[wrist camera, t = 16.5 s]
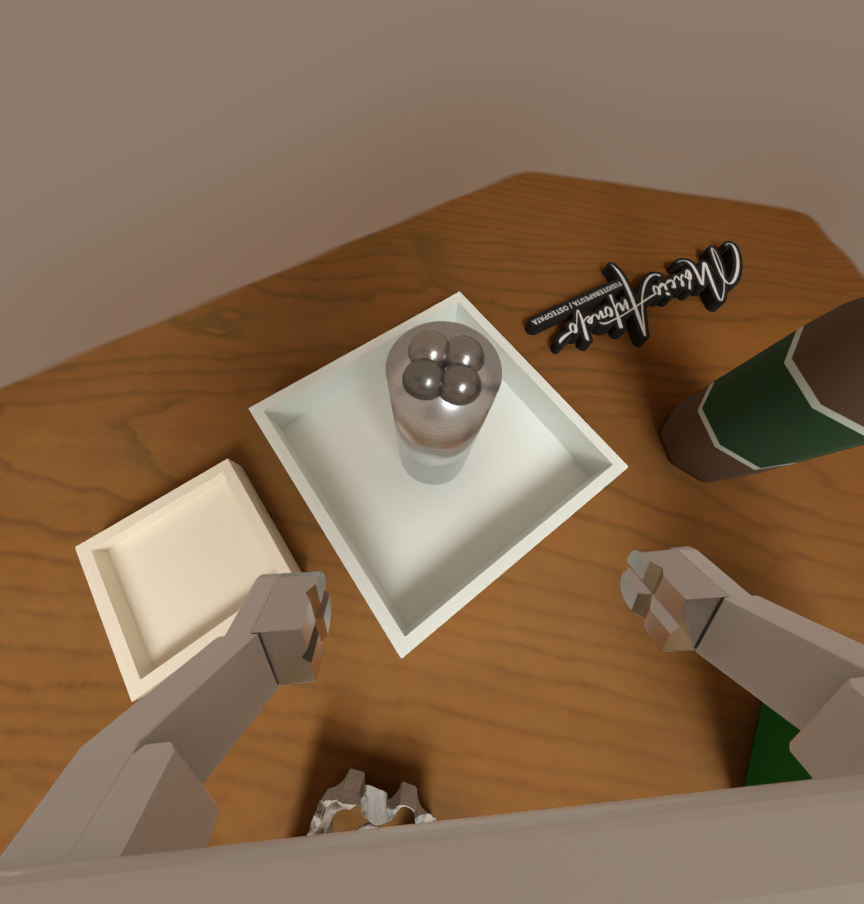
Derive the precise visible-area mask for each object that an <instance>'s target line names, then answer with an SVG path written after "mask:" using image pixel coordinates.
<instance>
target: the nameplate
mask: <svg viewBox="0 0 864 904" xmlns="http://www.w3.org/2000/svg"><path fill="white" fill-rule="evenodd" d="M721 257H722V258H721ZM699 258H700V261H699V262H698V263H697V264H695V263H694V262H693V261H691V260H690V259H686V258H679V259H676V260H675V261H674V262H673V263H672V264H671V265H670V266H669V268H668V269H667V272H668V273H669V274H672V275H671V276H670V277H667V278H665V279H664V280H663V281H661V280H662V279H663V278H664V275H663V274H662V273H660V272H649V273H647V274H646V275H645V276H644V277H643V279H642V280H641V281H640V282H639V284H638V285H637V286H636V288H635V290H634V291H633V288H632V286H631V284H630V282H629V280H628V279H627V277H626V275H625V274H624V273H623V271H622V270H621V269H620V268H619V267H618V266H617V265H616V264H614V263H612V262H608V264H607V265H606V267H605V269H604V270H603V272H602V274H603V275H604V276H605V277H606V279H607V280H608V282H609V283H606V284H604V285H602V286H600V287H598V288H595V289H593V290H591V291H589V292H586V293H584V294H582V295H580V296H578V297H575V298H573V299H571V300H569V301H566V302H564V303H562V304H560V305H558V306H555V307H553V308H551V309H549V310H546V311H544V312H542V313H540V314H538V315H535V316H533V317H531V318H530V319H529V321H528V323H527V325H526V327H525V330H526V332H527V333H528V334H530V335H535V334H538V333H540V332H542V331H544V330H546V329H548V328H550V327H552V326H555V325H557V324H559V323H561V322H563V321H565V320H567V319H568V321H567V322H566V324H565V325H564V327H563V329H562V330H561V333H560V334H559V335H558V336H557V338H556V339H555V341H554V343H553V344H552V346H551V352H552V353H554V354H557V353H559V351H560V350H561V349H562V348H563V347H564V346H566V345H567V344H573V343H576V347H577V348H578V349H579V350H581V351H586V350H587V348H588V347H589V346H590V344H591V343H592V342H593V340H592V336H591V333H593V334H595V335H603V334H605V333H607V332H608V334H609V336H610V338H612V339H618V338H619V337H620V336H621V335H622V334H623V333H624V332H625V331H626V329H627V328H628V331H629V334H630V337H631V340H632V342H633V344H634V345H635V346H637V347H640V346H641V345H642V344H643V343H644V342H645V341H646V340H647V339H648V338H649V336H650V335H649V329H648V320H647V311H646V308H647V307H649V306H656V304H657V305H658V306H661V307H663V306H665V305H666V304H667V303H668V302H669V301H670V300H671V298H672V297H674V298H678V299H679V300H685V299H686V298H687V297H688V296H689V295H691V296H698V295H699V294H700V296H701V299H702V301H703V303H704V306H705V307H706V309H707V310H708V311H711V312H715V311H716V310H717V309H718V308H719V307H720V306H722V305H723V304H724V303H725V302H726V299H727V294H728V292H729V291H730V290H731V289H732V288H734V287H735V286H736V285H737V284H738V282H739V280H740V278H741V275H742V266H743V262H742V256H741V252H740V250H739V248H738V246H737V245H736V244H735V243H733V242H731V241H725V242H724V243H723V244H722V245H721V246H720V247H719V248H718V249H716V248H715V247H714V246H708V247H707V249H706V250H705V251H704V252H703V253H702V254H701V255H700V257H699ZM676 273H677V274H676ZM615 297H617V300H616V298H615ZM598 305H600V306H601V308H597V309H596V311H595V312H590V313H586V314H584V313H583V312H585V311H587V310H589V309H591V308H593V307H595V306H598ZM625 322H626V324H625ZM626 325H627V328H626Z"/></svg>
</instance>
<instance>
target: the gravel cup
mask: <svg viewBox="0 0 864 904" xmlns="http://www.w3.org/2000/svg"><path fill="white" fill-rule="evenodd" d="M386 378H387V384H388V390H389V395H390V401H391V407H392V412H393V418H394V424H395V429H396V435H397V441H398V446H399V452H400V458H401V462H402V465H403V467H404V469H405V470H406V472H407V473H408V474H409V475H410V476H411V477H412V478H414V479H415V480H417V481H419V482H421V483H424V484H428V485H439V484H443V483H446V482H449V481H451V480H452V479H454V478H455V477H456V476H457V475H458V474H459V473H460V472H461V470H462V469H463V467H464V465H465V462H466V460H467V458H468V456H469V454H470V452H471V449H472V447H473V445H474V443H475V441H476V439H477V436H478V434H479V432H480V430H481V428H482V426H483V423H484V421H485V419H486V417H487V415H488V413H489V410H490V408H491V406H492V404H493V402H494V399H495V397H496V395H497V393H498V391H499V388H500V385H501V381H502V365H501V361H500V358H499V355H498V353H497V351H496V350H495V348H494V346H493V345H492V344H491V343H490V341H489V340H488V339H487V338H485V337H484V336H483V335H482V334H481V333H479V332H478V331H476V330H474V329H472V328H470V327H468V326H466V325H463V324H460V323H455V322H448V321H435V322H428V323H424V324H421V325H418V326H416V327H414V328H412V329H410V330H408V331H407V332H405V333H404V334H403V335H401V336H400V337H399V338H398V339H397V340H396V342H395V343H394V344H393V346H392V347H391V349H390V351H389V354H388V357H387V360H386Z"/></svg>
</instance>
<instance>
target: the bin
mask: <svg viewBox="0 0 864 904" xmlns="http://www.w3.org/2000/svg"><path fill="white" fill-rule="evenodd" d="M435 321H448V322H455V323H460V324H463V325H466V326H468V327H470V328H472V329H474V330H476V331H478V332H479V333H481V334H482V335H483V336H484V337H485V338H487V339H488V340H489V341H490V343H491V344H492V345H493V346H494V348H495V350H496V351H497V353H498V355H499V358H500V361H501V365H502V381H501V385H500V388H499V391H498V393H497V395H496V397H495V399H494V402H493V404H492V406H491V408H490V410H489V413H488V415H487V417H486V419H485V421H484V423H483V426H482V428H481V430H480V432H479V434H478V436H477V439H476V441H475V443H474V445H473V447H472V449H471V452H470V454H469V456H468V458H467V460H466V462H465V465H464V467H463V469H462V470H461V472H460V473H459V474H458V475H457V476H456V477H455V478H454V479H452V480H451V481H449V482H446V483H443V484H439V485H428V484H424V483H421V482H419V481H417V480H415V479H414V478H412V477H411V476H410V475H409V474H408V473H407V472H406V470H405V469H404V467H403V465H402V462H401V458H400V452H399V446H398V441H397V435H396V429H395V424H394V418H393V412H392V407H391V401H390V395H389V390H388V384H387V378H386V360H387V357H388V354H389V351H390V349H391V347H392V346H393V344H394V343H395V342H396V340H397V339H398V338H399V337H400V336H401V335H403V334H404V333H405V332H407V331H408V330H410V329H412V328H414V327H416V326H418V325H421V324H424V323H428V322H435ZM248 409H249V410H250V412H251V414H252V415H253V417H254V419H255V420H256V422H257V423H258V425H259V427H260V428H261V430H262V432H263V433H264V435H265V437H266V438H267V440H268V441H269V443H270V445H271V446H272V448H273V450H274V451H275V453H276V455H277V456H278V458H279V459H280V461H281V463H282V464H283V466H284V468H285V469H286V471H287V473H288V474H289V476H290V477H291V479H292V481H293V482H294V484H295V486H296V487H297V489H298V491H299V492H300V494H301V495H302V497H303V499H304V500H305V502H306V504H307V505H308V507H309V509H310V510H311V512H312V513H313V515H314V517H315V518H316V520H317V522H318V523H319V525H320V527H321V528H322V530H323V531H324V533H325V535H326V536H327V538H328V540H329V541H330V543H331V545H332V546H333V548H334V549H335V551H336V553H337V554H338V556H339V558H340V559H341V561H342V562H343V564H344V566H345V567H346V569H347V571H348V572H349V574H350V576H351V577H352V579H353V580H354V582H355V584H356V585H357V587H358V589H359V590H360V592H361V594H362V595H363V597H364V598H365V600H366V602H367V603H368V605H369V607H370V608H371V610H372V612H373V613H374V615H375V616H376V618H377V620H378V621H379V623H380V625H381V626H382V628H383V630H384V631H385V633H386V634H387V636H388V638H389V639H390V641H391V643H392V644H393V646H394V648H395V649H396V651H397V652H398V654H399V656H400V657H401V659H402V658H403V657H404V656H405V655H406V654H408V653H409V652H410V651H411V650H412V649H414V648H415V647H416V646H417V645H418V644H419V643H421V642H422V641H423V640H424V639H425V638H427V637H428V636H429V635H430V634H431V633H433V632H434V631H435V630H436V629H437V628H438V627H440V626H441V625H442V624H443V623H444V622H446V621H447V620H448V619H449V618H450V617H451V616H453V615H454V614H455V613H456V612H457V611H459V610H460V609H461V608H462V607H463V606H464V605H466V604H467V603H468V602H469V601H470V600H472V599H473V598H474V597H475V596H476V595H478V594H479V593H480V592H481V591H482V590H483V589H485V588H486V587H487V586H488V585H489V584H491V583H492V582H493V581H494V580H495V579H496V578H498V577H499V576H500V575H501V574H502V573H504V572H505V571H506V570H507V569H508V568H510V567H511V566H512V565H513V564H514V563H515V562H517V561H518V560H519V559H520V558H521V557H523V556H524V555H525V554H526V553H527V552H528V551H530V550H531V549H532V548H533V547H534V546H536V545H537V544H538V543H539V542H540V541H541V540H543V539H544V538H545V537H546V536H547V535H549V534H550V533H551V532H552V531H553V530H555V529H556V528H557V527H558V526H559V525H560V524H562V523H563V522H564V521H565V520H566V519H568V518H569V517H570V516H571V515H572V514H573V513H575V512H576V511H577V510H578V509H579V508H581V507H582V506H583V505H584V504H585V503H587V502H588V501H589V500H590V499H591V498H592V497H594V496H595V495H596V494H597V493H598V492H600V491H601V490H602V489H603V488H604V487H605V486H607V485H608V484H609V483H610V482H611V481H613V480H614V479H615V478H616V477H617V476H618V475H620V474H621V473H622V472H623V471H624V470H626V469H627V468H628V466H627V465H626V464H625V463H624V462H623V461H622V460H621V458H620V457H619V456H618V455H617V454H616V453H615V452H614V451H613V450H612V449H611V448H610V447H609V446H608V445H607V444H606V443H605V442H604V441H603V440H602V439H601V438H600V437H599V436H598V435H597V434H596V433H595V432H594V430H593V429H592V428H591V427H590V426H589V425H588V424H587V423H586V422H585V421H584V420H583V419H582V418H581V417H580V416H579V415H578V414H577V413H576V412H575V411H574V410H573V409H572V408H571V407H570V406H569V405H568V404H567V402H566V401H565V400H564V399H563V398H562V397H561V396H560V395H559V394H558V393H557V392H556V391H555V390H554V389H553V388H552V387H551V386H550V385H549V384H548V383H547V382H546V381H545V380H544V379H543V378H542V377H541V376H540V374H539V373H538V372H537V371H536V370H535V369H534V368H533V367H532V366H531V365H530V364H529V363H528V362H527V361H526V360H525V359H524V358H523V357H522V356H521V355H520V354H519V353H518V352H517V351H516V350H515V349H514V348H513V347H512V345H511V344H510V343H509V342H508V341H507V340H506V339H505V338H504V337H503V336H502V335H501V334H500V333H499V332H498V331H497V330H496V329H495V328H494V327H493V326H492V325H491V324H490V323H489V322H488V321H487V320H486V319H485V317H484V316H483V315H482V314H481V313H480V312H479V311H478V310H477V309H476V308H475V307H474V306H473V305H472V304H471V303H470V302H469V301H468V300H467V299H466V298H465V297H464V296H463V295H462V294H461V293H460V292H458V293H456V294H454V295H453V296H451V297H449V298H447V299H445V300H444V301H442V302H440V303H438V304H436V305H435V306H433V307H431V308H429V309H427V310H425V311H424V312H422V313H420V314H418V315H416V316H415V317H413V318H411V319H409V320H407V321H406V322H404V323H402V324H400V325H398V326H396V327H395V328H393V329H391V330H389V331H387V332H386V333H384V334H382V335H380V336H378V337H377V338H375V339H373V340H371V341H369V342H368V343H366V344H364V345H362V346H360V347H358V348H357V349H355V350H353V351H351V352H349V353H348V354H346V355H344V356H342V357H340V358H339V359H337V360H335V361H333V362H331V363H330V364H328V365H326V366H324V367H322V368H320V369H319V370H317V371H315V372H313V373H311V374H310V375H308V376H306V377H304V378H302V379H301V380H299V381H297V382H295V383H293V384H291V385H290V386H288V387H286V388H284V389H282V390H281V391H279V392H277V393H275V394H273V395H272V396H270V397H268V398H266V399H264V400H263V401H261V402H259V403H257V404H255V405H253V406H252V407H250V408H248Z"/></svg>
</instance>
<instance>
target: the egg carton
mask: <svg viewBox="0 0 864 904" xmlns="http://www.w3.org/2000/svg"><path fill="white" fill-rule="evenodd" d="M359 803H360V807H361V811H362V814H363V815H364V816H365V818H366V819H367V820H368V821H369V822H371V823H368V824H366V825H363V826H361V827H359V828H358V830H364V829H372V828H380V827H379V826H378V825H381V824H384V823H388V822H389V821H390V820H391V819H392V818H393V817H394V816H395V814H396V812H398V811H399V809H400V808H401V807H408V808H410V809H411V810H412V811H413V812H414V813H415V823H416V824H417V823H426V822H435V821H437V820H436V819H435V818H434V817H433V816H432V815H431V814H430V813H428V812H426V811H425V810H424V809H423V808H422V807H421V805H420V803H419V800H418V795H417V788H416V787H415V786H414V785H411V784H408V783H406V782H401V785H400V787H399V789H398V791H397V792H396V794H395V795H394V796H393V797H392V798H390V799H388V797H387V793H386V792H384V791H383V790H379V789H377V788H375V787H373V786H370V785H365V773H364V772H362V771H358V770H355V769H350V770H349V772H348V774H347V775H346V777H345V779H344V780H343V781H342V782H341V783H340V784H339V785H337V786H335V787H332V788H328V790H327V791H326V793H325V794H324V796H323V798H322V799H321V800H320V801H319V802H318V806H317V810H316V812H315V814H314V817H313V820H312V822H311V826H310V829H309V832H308V835H307V836H310V835H319V834H328V833H332V823H331V820H332V818H333V816H334V815H335V814H336V812H337V811H339V810H342V809H352V808H353V807H354V806H356V805H357V804H359Z"/></svg>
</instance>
